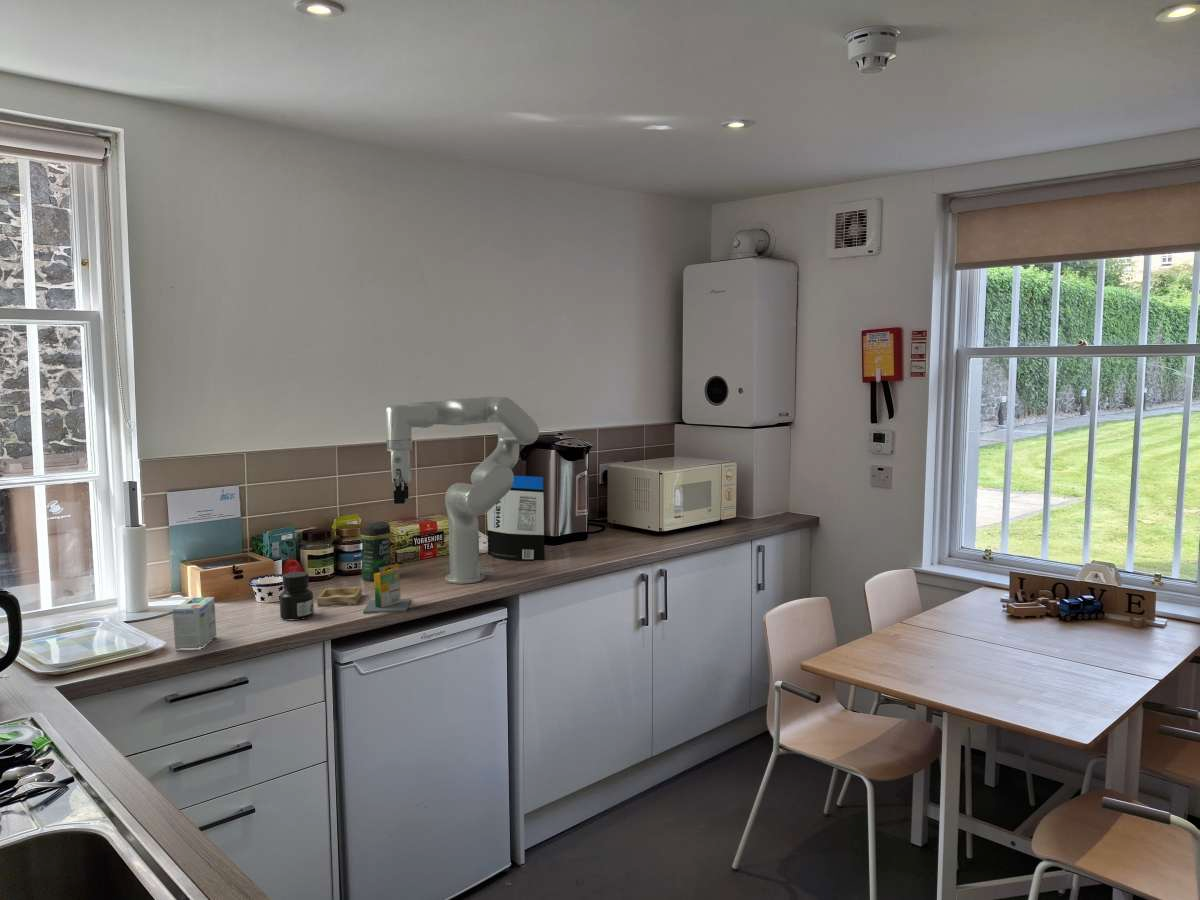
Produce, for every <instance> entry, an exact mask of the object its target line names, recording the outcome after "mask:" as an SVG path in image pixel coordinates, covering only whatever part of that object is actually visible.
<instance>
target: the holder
mask: <svg viewBox="0 0 1200 900" xmlns="http://www.w3.org/2000/svg"><path fill="white" fill-rule="evenodd" d="M362 588H363V587H361V586H360V587H356V586H355V587H337V588H332V587H331V588H324V589H323V590H322V591H321V593H320V594H319V595H318V597H317V598H316V600H317V607H318V606H320V607H332V606H331V605H343V606H351V605H350V604H353V605H352V606H356V605H357V604H358V603H357V602H359V601H360V599H361V598H362V596H363V589H362ZM360 597H361V598H360ZM348 604H349V605H348ZM355 604H356V605H355Z"/></svg>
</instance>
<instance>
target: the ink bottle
mask: <svg viewBox="0 0 1200 900" xmlns="http://www.w3.org/2000/svg"><path fill="white" fill-rule="evenodd" d="M309 580H310V579H309V573H308V572H306V571H292V572H288V573H284V574H282V589H283V591H282V592H281V593H280V594H279V613H280V619H282V618H283V619H282V620H284V619H302V620H304V619H303V618H306V619H309V618H312V616H314V614H315V607H314V606H315V605H314V604H315V603H314V592H313V590H312V589H310V588H309V587H310V586H309V584H310V583H309V582H310V581H309ZM308 617H309V618H308Z"/></svg>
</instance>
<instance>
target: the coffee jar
mask: <svg viewBox="0 0 1200 900" xmlns="http://www.w3.org/2000/svg"><path fill="white" fill-rule="evenodd" d="M390 537H391V526H390V524H389V522H385V521H375V522H372V523H367V524H362V526H361V527H360V539H361V543H362V544H361V545H362V548H361V549H362V554H361V555H362V557H361V575H360V576H361V579H362V580H365V581H368V582H370V581H374V574H375V573H379V572H380V568H383V567H387V566H391V565H392V563H391V553H390V552H391V551H390ZM390 569H392V568H390V567H389V568H388V569H386V570H385V571H387V570H390Z"/></svg>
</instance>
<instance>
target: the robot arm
mask: <svg viewBox="0 0 1200 900" xmlns="http://www.w3.org/2000/svg"><path fill="white" fill-rule="evenodd" d="M488 423H489V424H490V423H491V424H492V423H499V425H498V429H497V446H496V447H495V449H494V450H493V451H492V452H491V453H490V454H489V455H488V456H487V457H486V458H485V459H483V461H482V462H480V464H478V465H477V466H476V467H475V468H474V469H473V470H472V473H471V475H470V481H471V483H466V482H456V483H454V484H451V486H449V487H448V488H447V490H446V492H445V496H444V503H445V508H446V512H447V521H448V541H449V542H448V545H449V547H448V548H449V549H448V551H449V553H448V554H449V574H447V575H445V579H444V580H445V582H447V583H450V584H459V585H463V584H464V585H467V584H473V583H474V584H475V583H479V582H482V581H483V580H484V579H485V575H486V574H488V575H489V574H492V575H493V574H494V567H490V566H486V567H485V566H481V563H482V562H481V563H480V540H479V539H480V538H479V529H480V528H479V521H478V517H479V516H482V515H484V514H487V512H488V511H489V510H490V509H491V508H492V507H493V506H494V505H495V504H496V503H497V502H498V501H499V500H501V499H502V498H503V497H504V496H505V495H506V494H507V493H508V492H509V490H510V489H511V487H512V485H513V482H514V476H515V475H514V472H513V469H514V467H515V466H516V465H517V463H518V461H519V458H520V457H519V456H520V445H525V446H527V445H531V444H534V443H535V442H536V441H537V440H538V438H539V435H540V429H539V426H538V424H537V422H536V420H534V419H533V418H532V417H531V416H530V415H529V414H528V413H527V412H526V411H525V410H524V409H523V408H521V407H520V405H518V403H516V401H514V400H512V399H511V398H509V397H506V396H484V397H483V396H482V397H467V398H466V397H465V398H455V399H446V400H433V401H423V402H422V401H421V402H409V403H405V404H392V405H388V406H386V408H385V433H386V434H385V435H386V451H387V452H390V467H391V468H390V470H391V472H390V473H391V482H392V483H393V503H394V504H395V505H398V504H400V505H401V504H402V505H404V504H405V503H406V500H408V499H409V497H410V496H409V485H408V484H409V483H410V481H411V480H412V471H411V469H412V468H411V456H410V455H411V454H410V451H413V434H412V429H413V428H420V429H427V428H431V427H433V426H434V425H446V426H467V425H469V426H470V425H479V424H488Z"/></svg>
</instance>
